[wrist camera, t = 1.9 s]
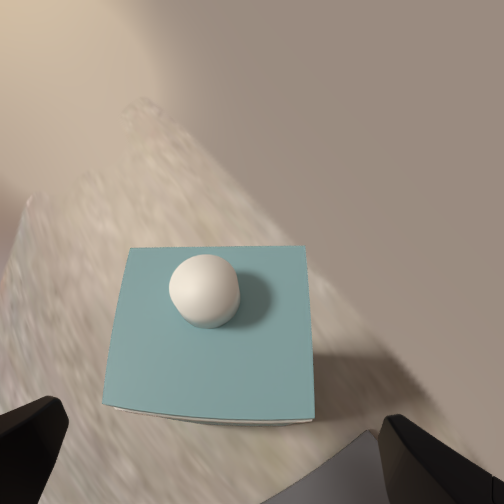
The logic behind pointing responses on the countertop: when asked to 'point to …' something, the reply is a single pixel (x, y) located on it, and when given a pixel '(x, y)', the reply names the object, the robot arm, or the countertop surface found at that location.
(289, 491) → the mat
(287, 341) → the carton
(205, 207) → the countertop surface
